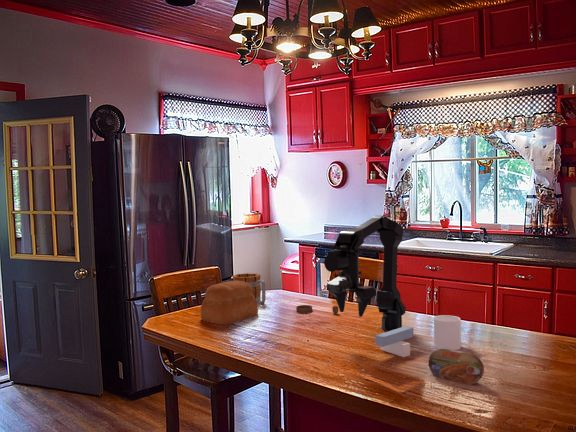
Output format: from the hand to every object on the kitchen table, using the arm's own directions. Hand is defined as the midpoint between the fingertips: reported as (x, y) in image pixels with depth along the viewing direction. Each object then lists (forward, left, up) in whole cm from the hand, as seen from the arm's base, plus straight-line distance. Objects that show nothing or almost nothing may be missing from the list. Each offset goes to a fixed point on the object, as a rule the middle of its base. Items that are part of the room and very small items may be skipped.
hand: (351, 314), depth 174 cm
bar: (-10, +11, -7) cm, 17 cm away
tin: (-16, +36, -12) cm, 42 cm away
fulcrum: (-10, +11, -12) cm, 19 cm away
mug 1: (+20, -78, -12) cm, 81 cm away
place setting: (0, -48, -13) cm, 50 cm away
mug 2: (-31, +10, -12) cm, 35 cm away
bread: (+33, -54, -12) cm, 65 cm away
